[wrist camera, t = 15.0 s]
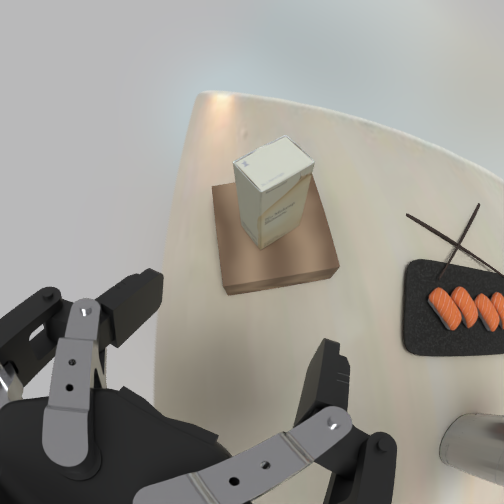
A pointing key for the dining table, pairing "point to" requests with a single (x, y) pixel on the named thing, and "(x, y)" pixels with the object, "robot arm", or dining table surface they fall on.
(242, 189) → the skincare box
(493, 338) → the sushi plate
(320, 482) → the dining table surface
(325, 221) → the block
